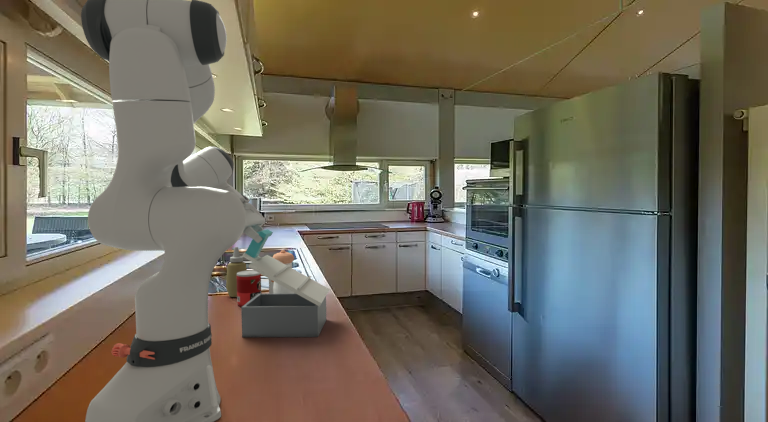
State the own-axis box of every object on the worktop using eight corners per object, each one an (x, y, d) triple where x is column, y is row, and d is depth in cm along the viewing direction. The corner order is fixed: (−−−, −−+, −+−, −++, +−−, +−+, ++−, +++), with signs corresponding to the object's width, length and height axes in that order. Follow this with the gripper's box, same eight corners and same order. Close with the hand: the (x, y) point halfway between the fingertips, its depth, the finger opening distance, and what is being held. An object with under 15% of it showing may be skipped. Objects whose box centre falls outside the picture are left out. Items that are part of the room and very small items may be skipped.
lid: (319, 306, 103) (335, 277, 103) (234, 259, 103) (250, 230, 102) (328, 292, 118) (342, 266, 117) (253, 250, 118) (267, 225, 117)
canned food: (254, 308, 131) (253, 275, 130) (232, 307, 132) (231, 274, 132) (265, 301, 138) (265, 270, 138) (245, 300, 140) (244, 269, 139)
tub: (318, 336, 104) (317, 306, 103) (242, 337, 104) (241, 307, 104) (326, 319, 118) (325, 293, 117) (259, 320, 118) (258, 293, 118)
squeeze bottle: (253, 293, 150) (252, 246, 149) (241, 298, 142) (240, 249, 141) (234, 292, 152) (232, 245, 151) (221, 297, 144) (219, 248, 143)
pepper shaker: (298, 305, 134) (296, 248, 133) (292, 311, 126) (291, 251, 126) (276, 305, 134) (275, 248, 133) (269, 311, 127) (268, 251, 126)
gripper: (219, 197, 99) (259, 236, 99) (248, 196, 119) (281, 228, 120) (202, 215, 99) (242, 253, 100) (234, 211, 120) (267, 243, 120)
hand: (263, 239), depth 110 cm, fingers closed on lid, 3 cm apart
